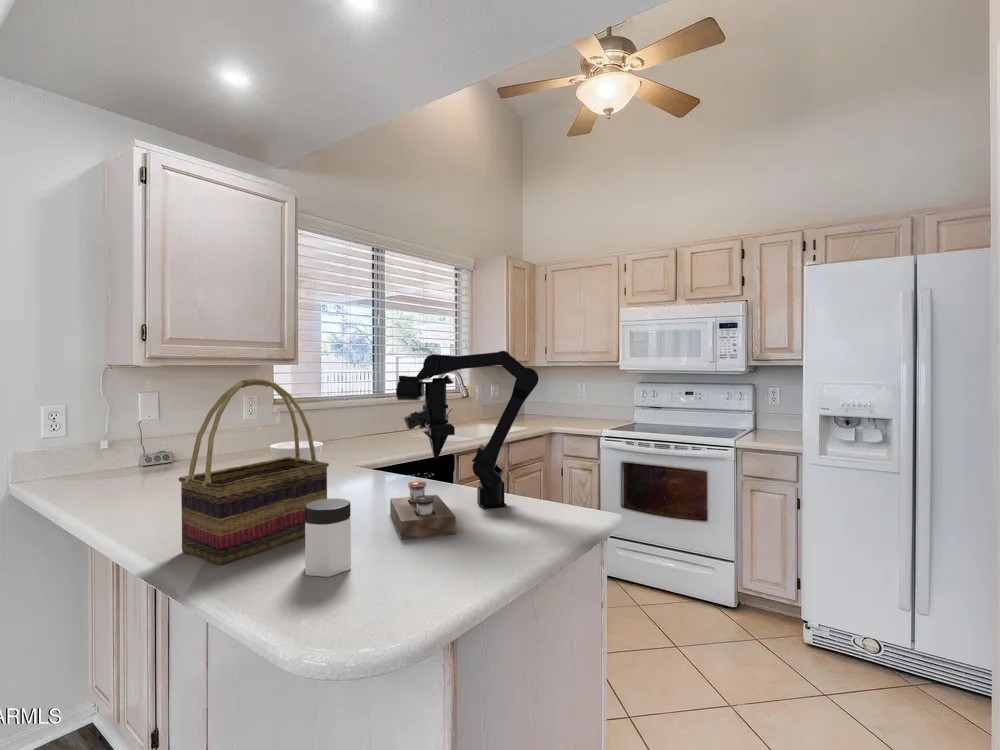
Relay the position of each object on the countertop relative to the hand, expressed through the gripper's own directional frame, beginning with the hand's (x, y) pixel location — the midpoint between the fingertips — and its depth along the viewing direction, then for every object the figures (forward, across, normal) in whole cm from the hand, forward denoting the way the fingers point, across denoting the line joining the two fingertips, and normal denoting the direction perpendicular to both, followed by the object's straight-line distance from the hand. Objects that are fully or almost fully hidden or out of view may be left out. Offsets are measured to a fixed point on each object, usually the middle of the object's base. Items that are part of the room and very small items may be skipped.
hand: (435, 457), depth 138 cm
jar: (+13, +37, -28) cm, 48 cm away
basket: (+13, +16, -42) cm, 47 cm away
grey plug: (+12, +21, -7) cm, 25 cm away
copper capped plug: (+11, +11, -7) cm, 17 cm away
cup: (+13, -15, -36) cm, 41 cm away
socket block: (+12, +16, -7) cm, 21 cm away
